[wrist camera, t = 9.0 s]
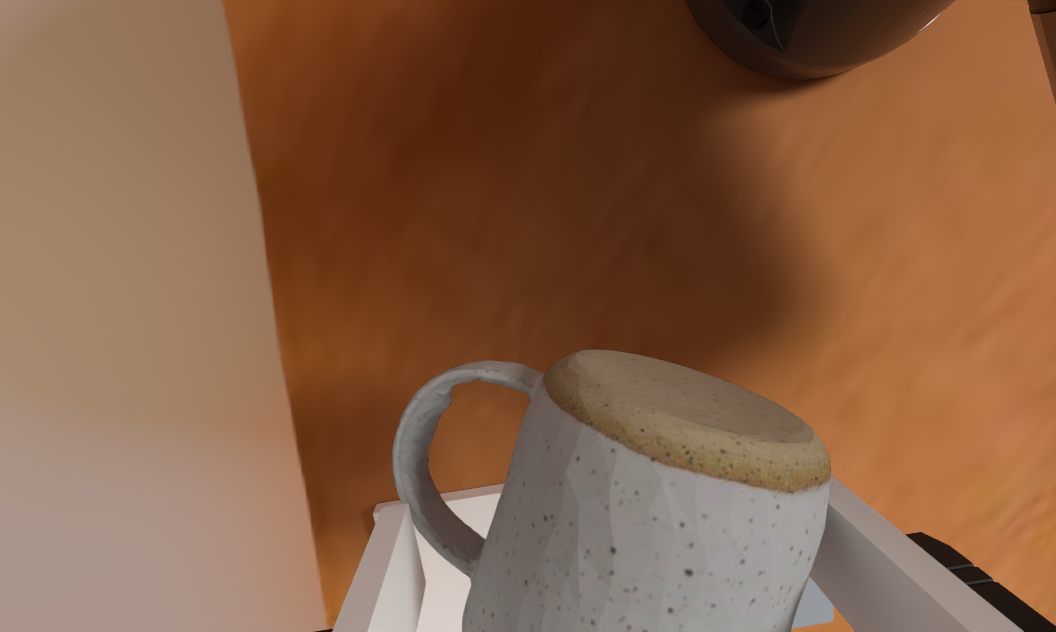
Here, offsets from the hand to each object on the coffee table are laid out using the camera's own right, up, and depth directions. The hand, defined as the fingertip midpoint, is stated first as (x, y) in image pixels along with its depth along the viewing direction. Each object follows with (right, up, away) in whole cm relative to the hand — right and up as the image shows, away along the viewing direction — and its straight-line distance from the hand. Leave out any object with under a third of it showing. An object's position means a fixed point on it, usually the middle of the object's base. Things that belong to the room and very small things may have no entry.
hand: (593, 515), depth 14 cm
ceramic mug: (-1, +1, +2) cm, 2 cm away
